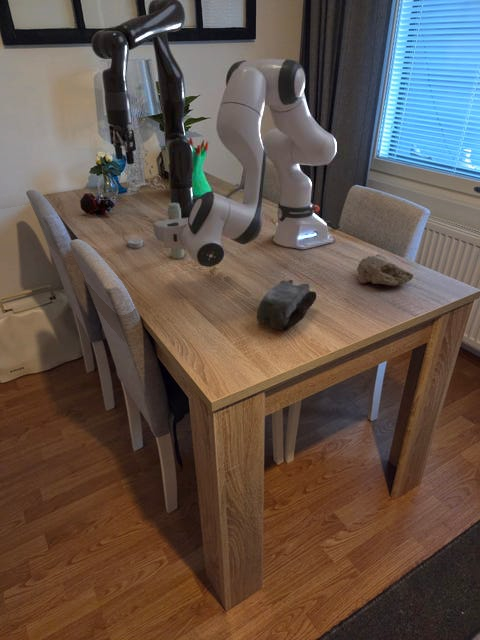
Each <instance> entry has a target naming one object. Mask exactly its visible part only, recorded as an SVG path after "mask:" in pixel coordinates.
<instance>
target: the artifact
mask: <svg viewBox="0 0 480 640" xmlns="http://www.w3.org/2000/svg"><path fill="white" fill-rule="evenodd" d="M356 271H357V280H358V281H359V282H360V284H363V285H364V284H366V283H371V284H374V285H375V284H376V285H380V284H381V285H386V286H397V285H400V284H403V285H404V284H406V283H407V282H410V281H412V279H413V277H414V274H413V273H411V272H410V271H407V270H405V269H403V268H401V267H400V266H398V265H396V264H395V263H392V262H390V261H389V260H388V259H387V258H386V257H385V256H384V255H382V254H376V255H372V256H370V255H368V256H367V257H364V258H362V259H361V260H360V261H359V263H358V266H357V268H356Z"/></svg>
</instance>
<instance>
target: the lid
mask: <svg viewBox="0 0 480 640" xmlns="http://www.w3.org/2000/svg"><path fill="white" fill-rule="evenodd" d="M143 242H144V241H143V239H141V238H137V237H135V238H131V239H129V240H128V241H127V246H128V247H129V248H131V249H138V248H141V247H143V245H144V243H143Z"/></svg>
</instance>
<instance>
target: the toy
mask: <svg viewBox="0 0 480 640" xmlns="http://www.w3.org/2000/svg"><path fill="white" fill-rule="evenodd" d="M101 196H102V193H101V192H97V193H96V194H95V195H94V194H93V193H91V192H90V193H84V195H83V196H82V197H81V198H80V200H79V201H80V203H79V204H80V209H81V210H82V211H83V212H84V213H85V214H88V215H92V216H98V217H106V218H109V216H108V215H107V213H108V214H113V213H114V212H115V209H114V207H115V206H116V204H117V201H116V200H115V199H114V198H113V197H111V196H110V197H107V196H102V197H101Z"/></svg>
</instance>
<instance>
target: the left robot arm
mask: <svg viewBox="0 0 480 640" xmlns="http://www.w3.org/2000/svg"><path fill="white" fill-rule="evenodd" d="M185 22H186V13H185V8H184V5H183V3H182V2H181V1H180V0H151V1H150V2H149V3H148V9H147V14H143V15H140V16H136V17H132V18H130V19H128V20H126V21H124V22H121V23H120V24H118V25H115V26H112V27H108V28H103V29H100V30H98V31H96V32H95V34H94V35H93V36H92V39H91V48H92V51H93V53H94V55H96V56H97V57H98V58H100V59H102V60H110V66H109V68H106V69H104V70H103V71H102V74H101V76H102V84H103V91H104V92H103V93H104V105H105V112H106V119H107V123H108V129H109V139H110V144H111V145H113V146H112V147H113V148H114V152H115V159H116V160H118V161H119V160H123V159H124V154H123V153H124V152H123V148H124V151H125V159H126V164H127V165H133V164H135V159H134V151H136V150H137V148H136V147H137V146H136V139H135V132H134V129H129V125H131V124H133V117H132V109H131V99H130V95H129V91H128V90H129V89H128V81H127V72H128V63H129V55H130V51H132V50H134V49H137V48H138V47H140V46H141V45H143V44H145V43H147V42H148V41H151V40H152V44H153V50H154V55H155V62H156V71H157V72H156V73H157V82H158V90H159V96H160V97H159V98H160V104H161V110H162V115H163V121H164V148H165V152H166V155H168V160H169V161H168V162H169V163H168V164H169V170H168V182H169V189H170V193H169V195H170V196H169V197H170V203H179V206H180V208H181V218H188V217H189V213H190V210H191V208H192V206H193V204H194V202H195V200H196V199H195V197H194V196H193V181H192V173H193V150H192V145H191V143H190V142H189V140H190V139H189V140H188V139H187V137H186V131H185V124H184V115H185V114H184V113H185V107H186V87H185V86H186V85H185V77H184V73H183V71H182V68H181V67H180V65H179V63H178V62H177V60H176V58H175V57H174V55H173V53H172V51H171V48H170V44H169V39H168V33H175V32H178V31H180V30H182V28H183V26H184V24H185ZM244 186H245V185H242V186H240V187H237V188H236V189H234V190H232V191H231V192H229V194H228V195H227V196H226V197H227V198H229V197H231V196H232V195H233V194H234V193H236V192H237V191H239V190H241V189H244Z"/></svg>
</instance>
